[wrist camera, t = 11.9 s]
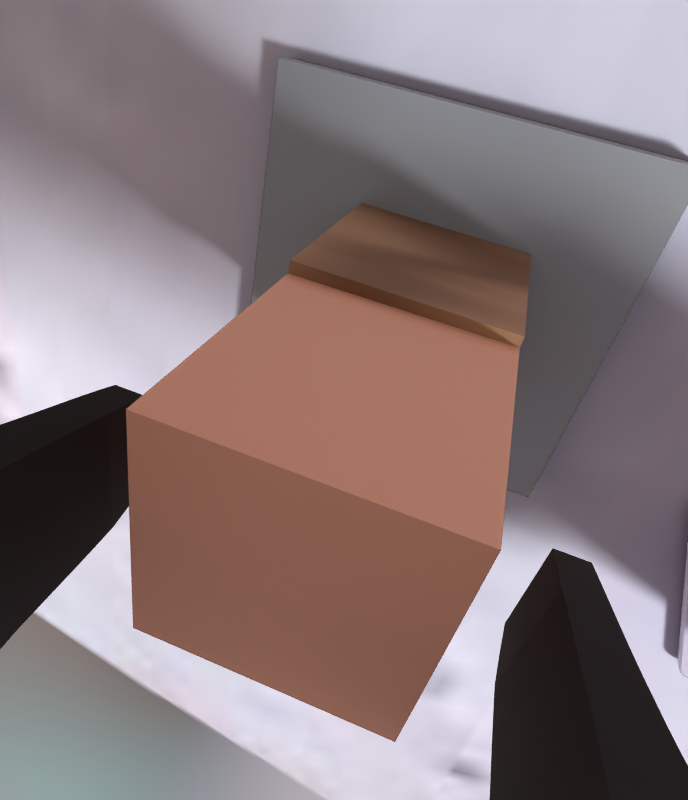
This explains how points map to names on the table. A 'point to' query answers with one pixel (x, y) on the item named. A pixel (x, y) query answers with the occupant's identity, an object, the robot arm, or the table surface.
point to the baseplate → (479, 215)
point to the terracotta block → (322, 496)
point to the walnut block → (423, 271)
